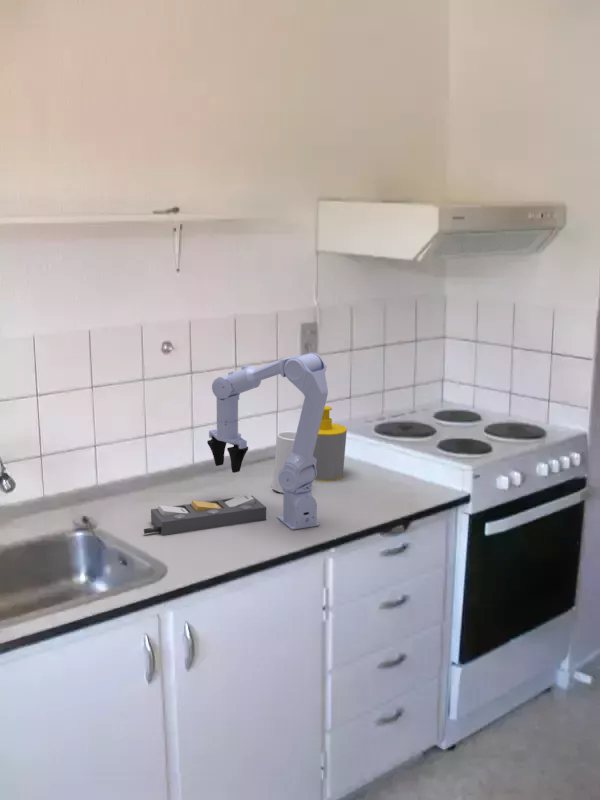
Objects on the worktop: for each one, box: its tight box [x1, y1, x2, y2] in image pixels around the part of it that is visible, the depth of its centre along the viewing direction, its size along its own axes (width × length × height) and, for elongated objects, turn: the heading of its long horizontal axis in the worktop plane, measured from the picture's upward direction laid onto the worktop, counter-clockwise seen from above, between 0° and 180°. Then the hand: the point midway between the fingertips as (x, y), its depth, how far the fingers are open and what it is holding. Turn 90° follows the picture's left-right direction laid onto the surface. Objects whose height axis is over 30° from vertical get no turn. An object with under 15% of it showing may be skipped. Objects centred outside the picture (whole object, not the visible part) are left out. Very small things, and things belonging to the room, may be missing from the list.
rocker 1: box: [157, 504, 189, 516], centre depth 230 cm, size 5×7×2 cm
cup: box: [272, 430, 297, 494], centre depth 256 cm, size 8×8×16 cm
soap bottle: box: [313, 405, 348, 482], centre depth 269 cm, size 13×13×21 cm
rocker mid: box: [190, 500, 221, 512], centre depth 233 cm, size 5×7×2 cm
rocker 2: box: [224, 492, 255, 507], centre depth 237 cm, size 5×7×2 cm
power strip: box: [143, 495, 267, 536], centre depth 231 cm, size 10×32×4 cm, turn 115°
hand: (227, 468), depth 243 cm, fingers open, 7 cm apart
